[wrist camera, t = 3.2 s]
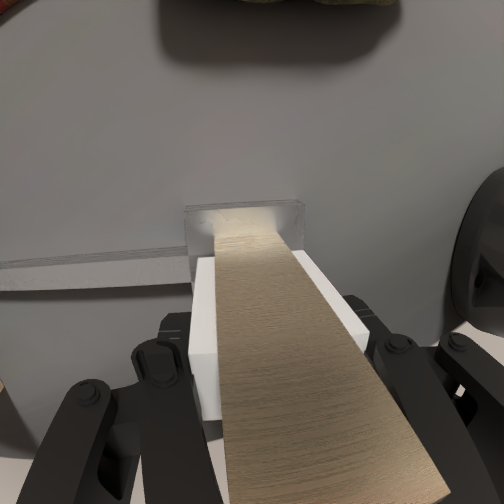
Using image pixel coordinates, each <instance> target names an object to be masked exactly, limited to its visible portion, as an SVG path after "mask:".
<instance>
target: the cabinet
mask: <svg viewBox="0 0 504 504" xmlns="http://www.w3.org/2000/svg"><path fill="white" fill-rule="evenodd" d="M3 388H4V385H3V383H2V382H1V380H0V392H1V391H2V389H3Z"/></svg>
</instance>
